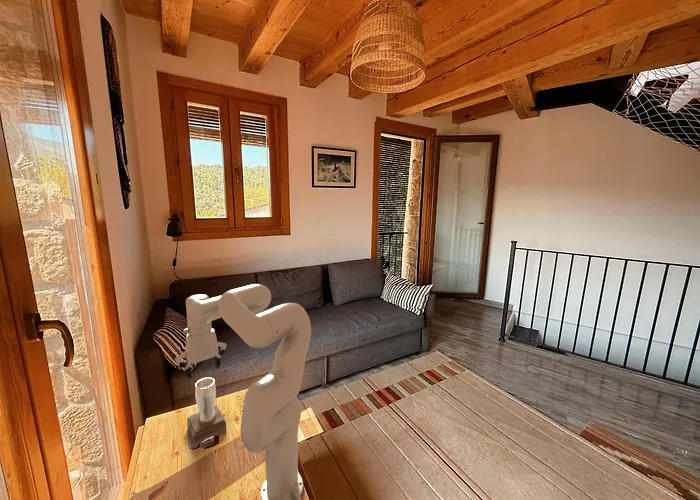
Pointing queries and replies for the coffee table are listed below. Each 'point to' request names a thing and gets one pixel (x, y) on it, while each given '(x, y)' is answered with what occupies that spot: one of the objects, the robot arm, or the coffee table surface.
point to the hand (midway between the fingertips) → (203, 372)
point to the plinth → (206, 427)
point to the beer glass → (206, 399)
